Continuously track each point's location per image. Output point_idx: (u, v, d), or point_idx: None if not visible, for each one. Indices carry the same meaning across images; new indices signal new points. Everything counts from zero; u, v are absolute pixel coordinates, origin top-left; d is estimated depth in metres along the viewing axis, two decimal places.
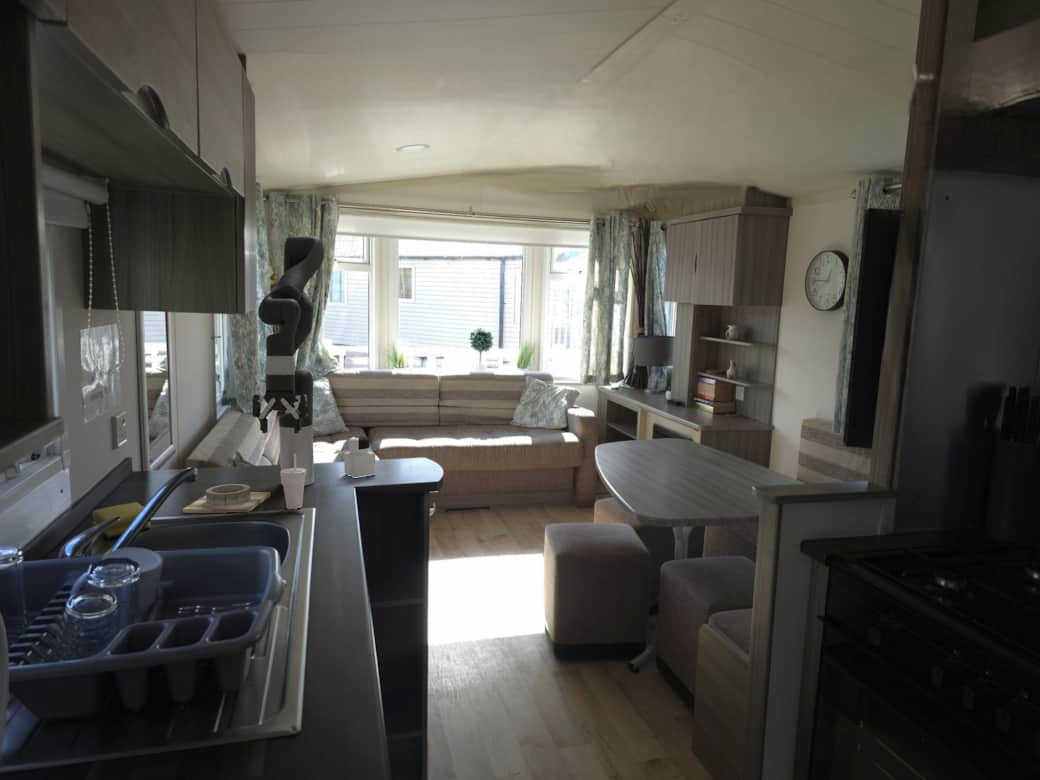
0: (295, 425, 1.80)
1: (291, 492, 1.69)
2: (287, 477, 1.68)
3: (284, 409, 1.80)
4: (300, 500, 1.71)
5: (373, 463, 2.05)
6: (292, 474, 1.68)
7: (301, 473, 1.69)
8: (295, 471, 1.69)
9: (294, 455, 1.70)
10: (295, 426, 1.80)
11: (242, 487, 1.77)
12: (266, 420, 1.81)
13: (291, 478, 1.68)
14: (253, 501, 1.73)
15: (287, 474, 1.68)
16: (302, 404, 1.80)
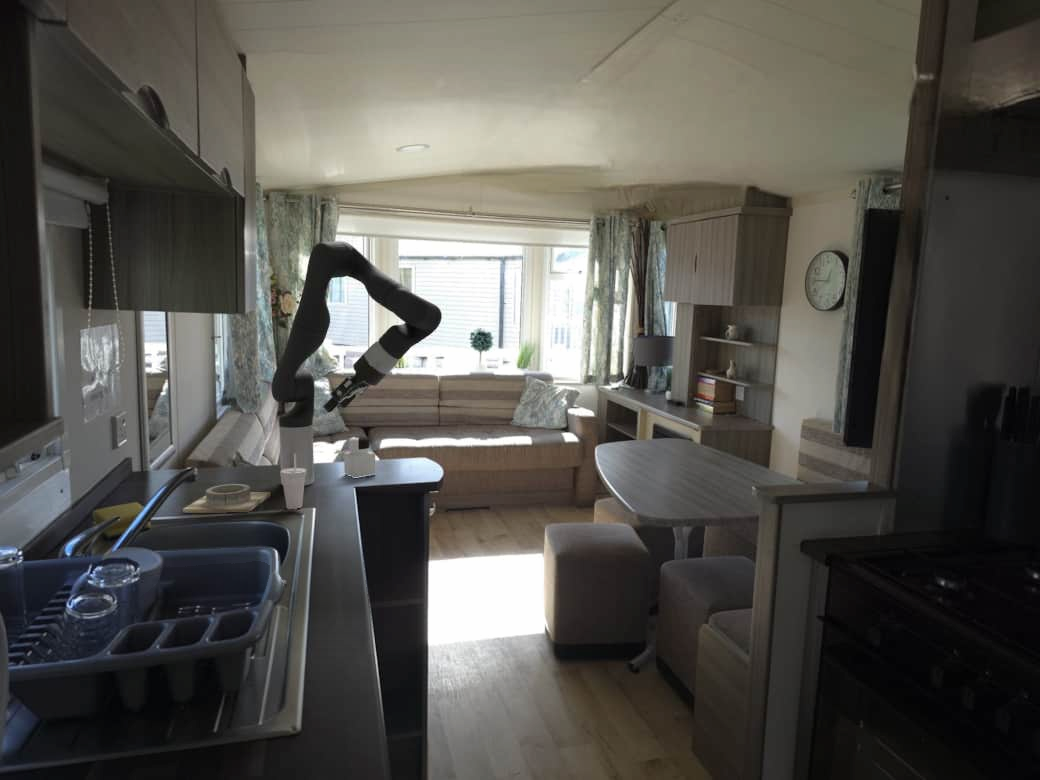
0: (350, 402, 1.71)
1: (291, 492, 1.69)
2: (287, 477, 1.68)
3: None
4: (300, 500, 1.71)
5: (373, 463, 2.05)
6: (292, 474, 1.68)
7: (301, 473, 1.69)
8: (295, 471, 1.69)
9: (294, 455, 1.70)
10: (349, 403, 1.71)
11: (242, 487, 1.77)
12: None
13: (291, 478, 1.68)
14: (253, 501, 1.73)
15: (287, 474, 1.68)
16: (367, 386, 1.71)
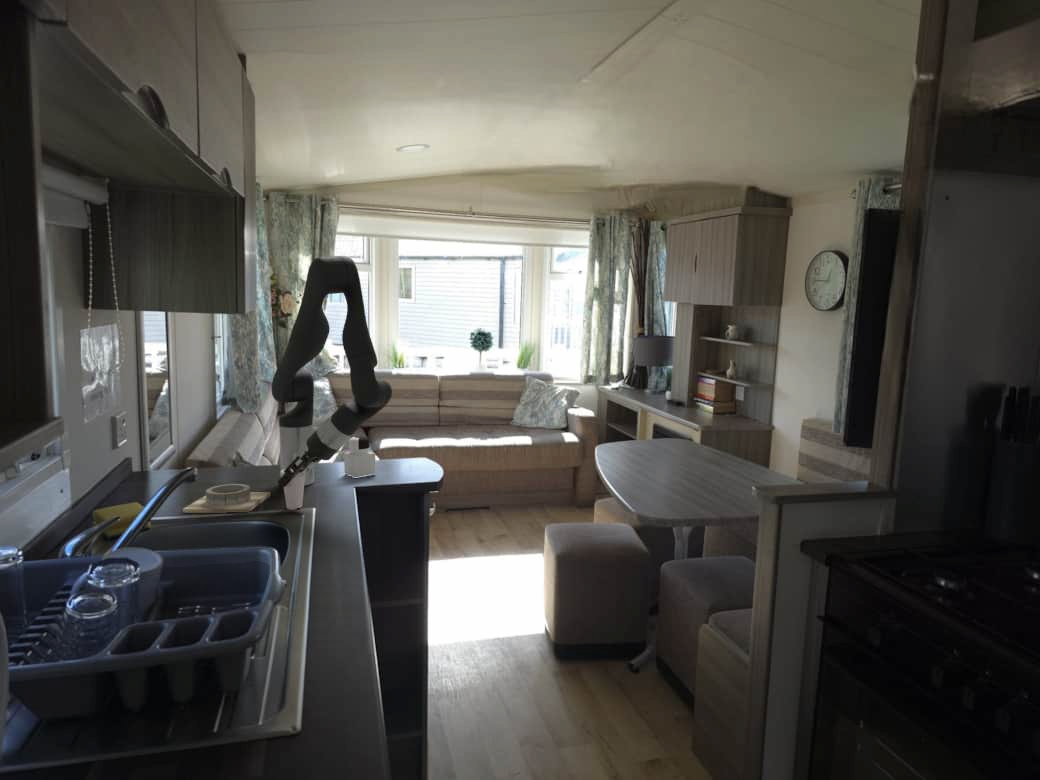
0: None
1: (291, 492, 1.69)
2: None
3: None
4: (300, 500, 1.71)
5: (373, 463, 2.05)
6: None
7: (301, 473, 1.69)
8: None
9: (294, 455, 1.70)
10: None
11: (242, 487, 1.77)
12: None
13: None
14: (253, 501, 1.73)
15: None
16: (321, 459, 1.75)
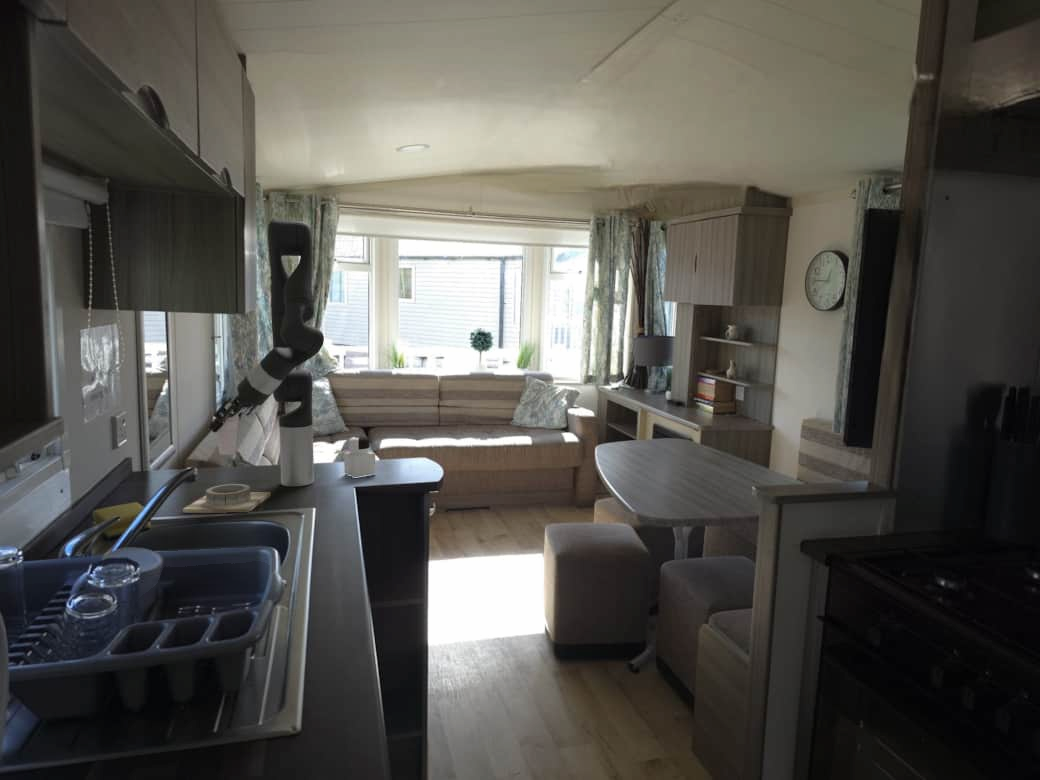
0: None
1: (223, 437, 1.70)
2: None
3: None
4: (233, 446, 1.72)
5: (373, 463, 2.05)
6: None
7: (233, 418, 1.70)
8: None
9: None
10: None
11: (242, 487, 1.77)
12: None
13: None
14: (253, 501, 1.73)
15: None
16: (255, 407, 1.77)
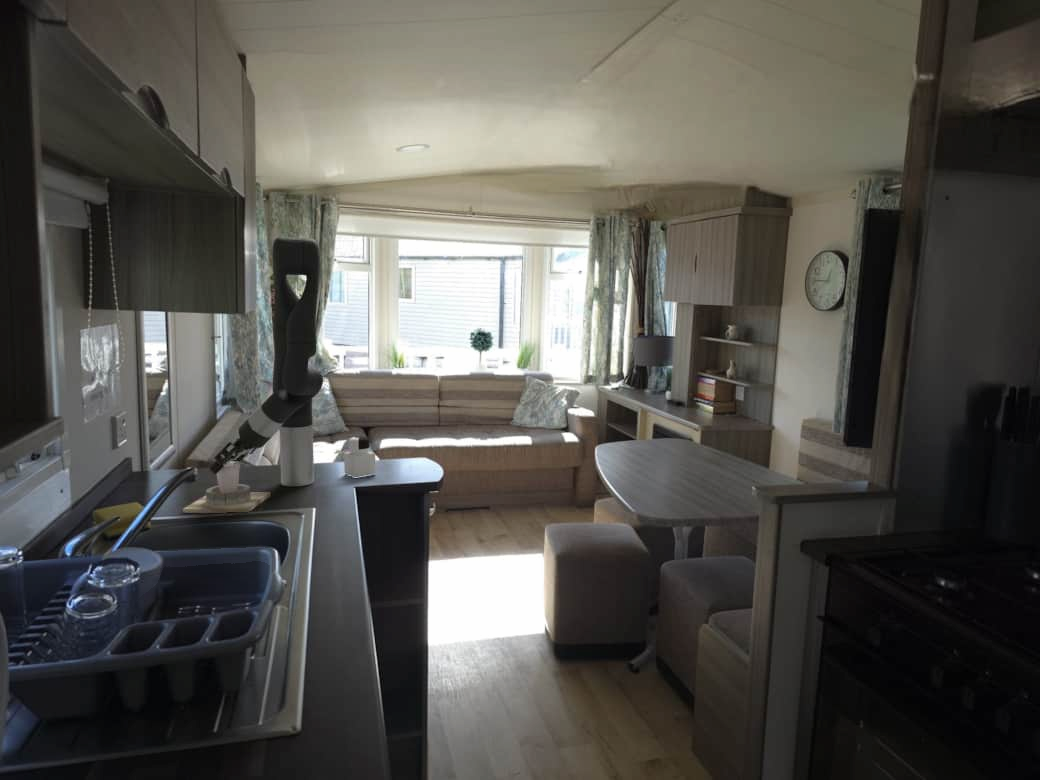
0: (240, 461, 1.77)
1: (224, 484, 1.71)
2: None
3: None
4: None
5: (373, 463, 2.05)
6: (225, 466, 1.70)
7: (234, 465, 1.72)
8: (228, 464, 1.72)
9: None
10: None
11: (242, 487, 1.77)
12: None
13: (224, 470, 1.71)
14: (253, 501, 1.73)
15: None
16: None
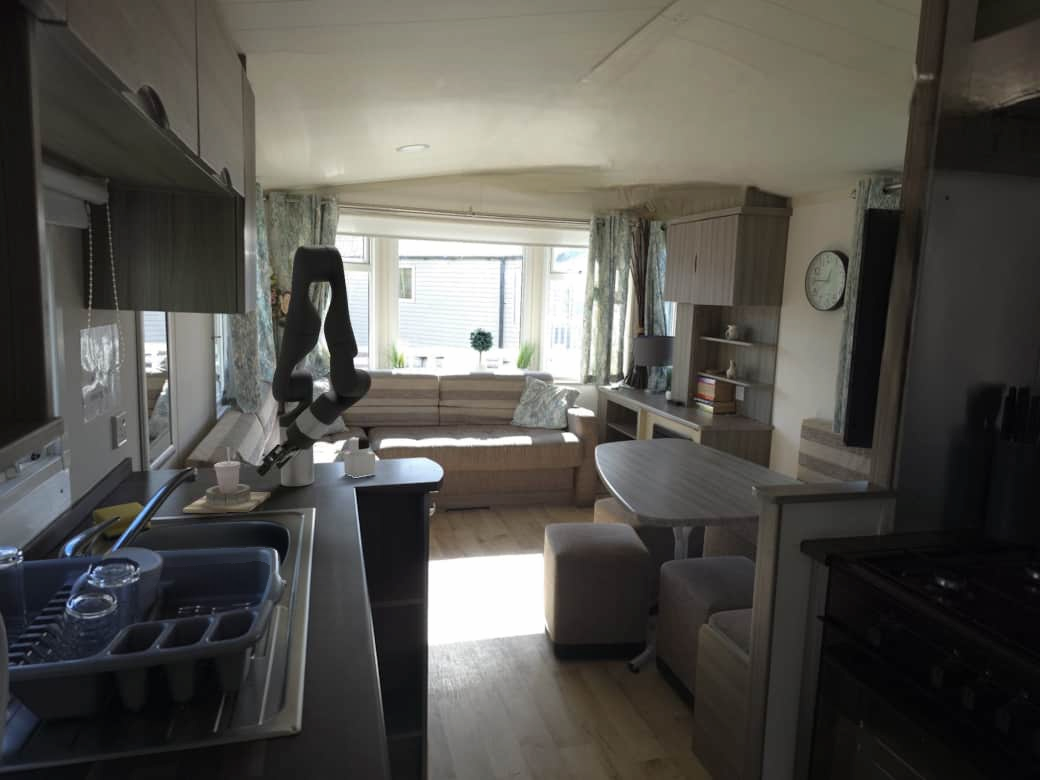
0: (285, 463, 1.75)
1: (225, 485, 1.71)
2: (220, 470, 1.70)
3: None
4: None
5: (373, 463, 2.05)
6: (225, 467, 1.70)
7: (235, 466, 1.72)
8: (229, 464, 1.72)
9: (227, 449, 1.72)
10: (284, 464, 1.75)
11: (242, 487, 1.77)
12: None
13: (224, 471, 1.70)
14: (253, 501, 1.73)
15: (220, 467, 1.70)
16: None
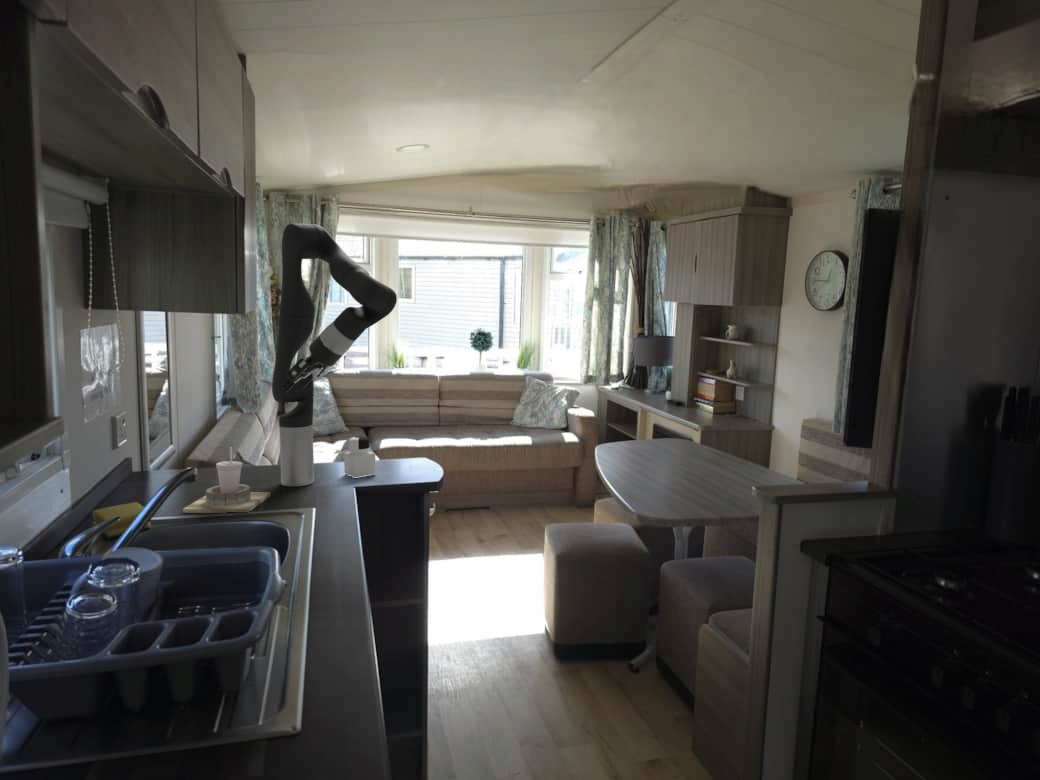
0: (307, 383, 1.73)
1: (226, 484, 1.71)
2: (222, 469, 1.71)
3: (312, 373, 1.70)
4: None
5: (373, 463, 2.05)
6: (228, 466, 1.71)
7: (237, 466, 1.72)
8: (231, 464, 1.72)
9: (230, 448, 1.73)
10: (306, 384, 1.73)
11: (242, 487, 1.77)
12: None
13: (226, 470, 1.71)
14: (253, 501, 1.73)
15: (222, 466, 1.70)
16: (325, 368, 1.74)
